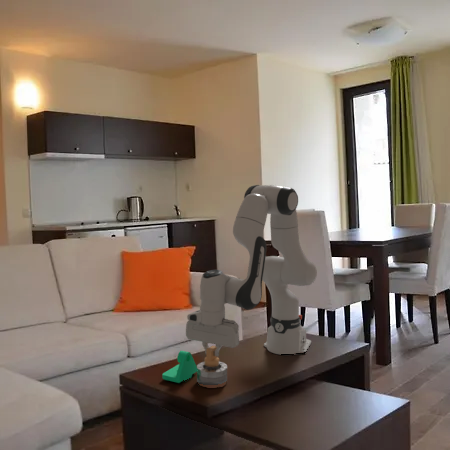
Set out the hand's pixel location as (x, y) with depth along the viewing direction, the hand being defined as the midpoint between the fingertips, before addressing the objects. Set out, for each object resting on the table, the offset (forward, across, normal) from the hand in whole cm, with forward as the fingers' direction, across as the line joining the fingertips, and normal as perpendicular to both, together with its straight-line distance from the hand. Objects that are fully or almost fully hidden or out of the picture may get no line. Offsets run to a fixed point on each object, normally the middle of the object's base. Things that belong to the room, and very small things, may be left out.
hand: (211, 354), depth 192 cm
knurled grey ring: (+10, 0, 0) cm, 10 cm away
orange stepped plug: (+3, 0, 0) cm, 3 cm away
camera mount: (+11, +13, +2) cm, 17 cm away
